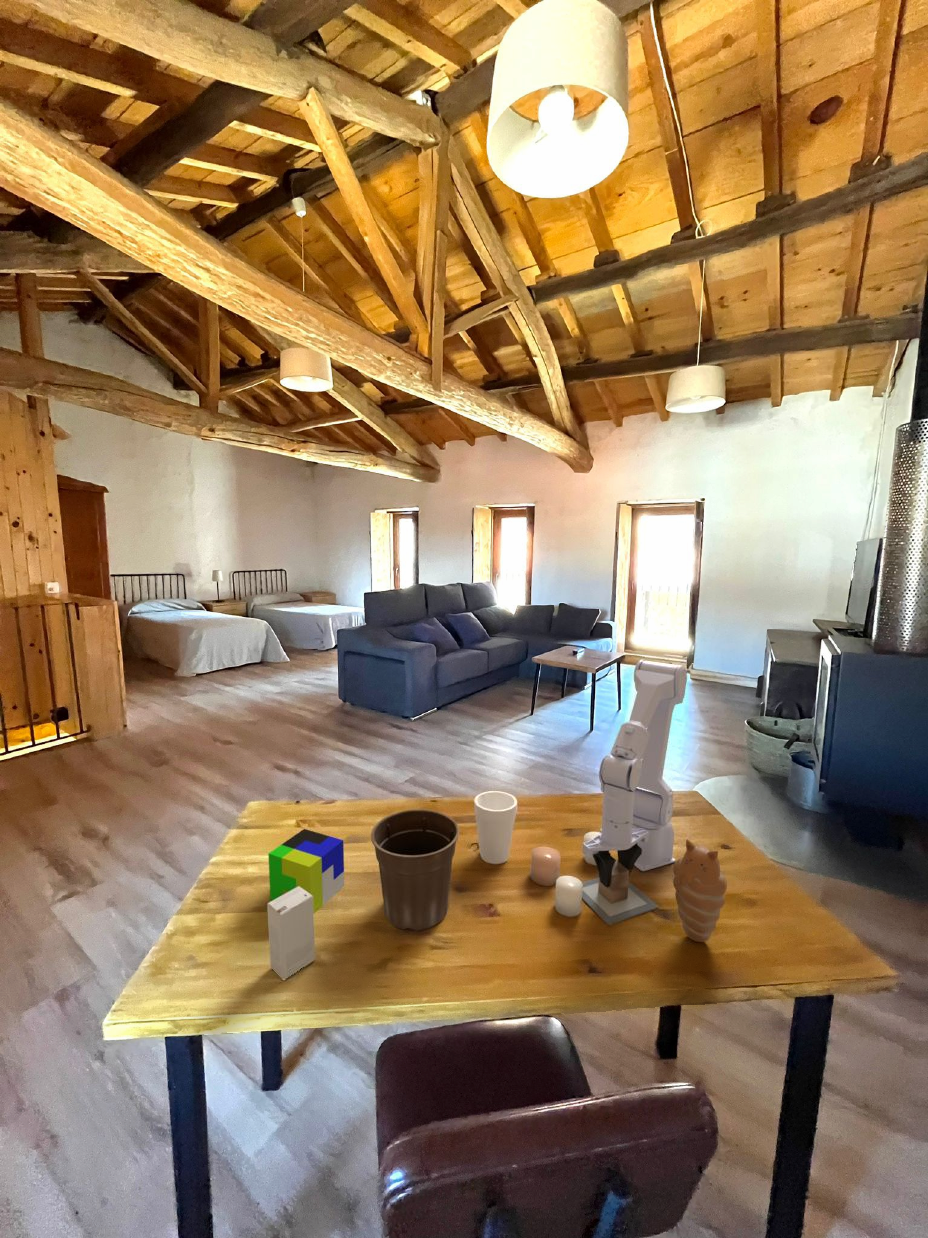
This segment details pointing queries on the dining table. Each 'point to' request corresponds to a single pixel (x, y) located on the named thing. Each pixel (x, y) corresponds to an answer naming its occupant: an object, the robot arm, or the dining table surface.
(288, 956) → the skincare box
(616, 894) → the walnut block
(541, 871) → the peach rounded blob
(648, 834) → the robot arm
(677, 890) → the cat ice cream
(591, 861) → the cream rounded cylinder
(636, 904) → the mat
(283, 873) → the puzzle toy
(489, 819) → the foam cup
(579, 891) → the cream rounded capsule
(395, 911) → the plant pot
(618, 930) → the dining table surface
